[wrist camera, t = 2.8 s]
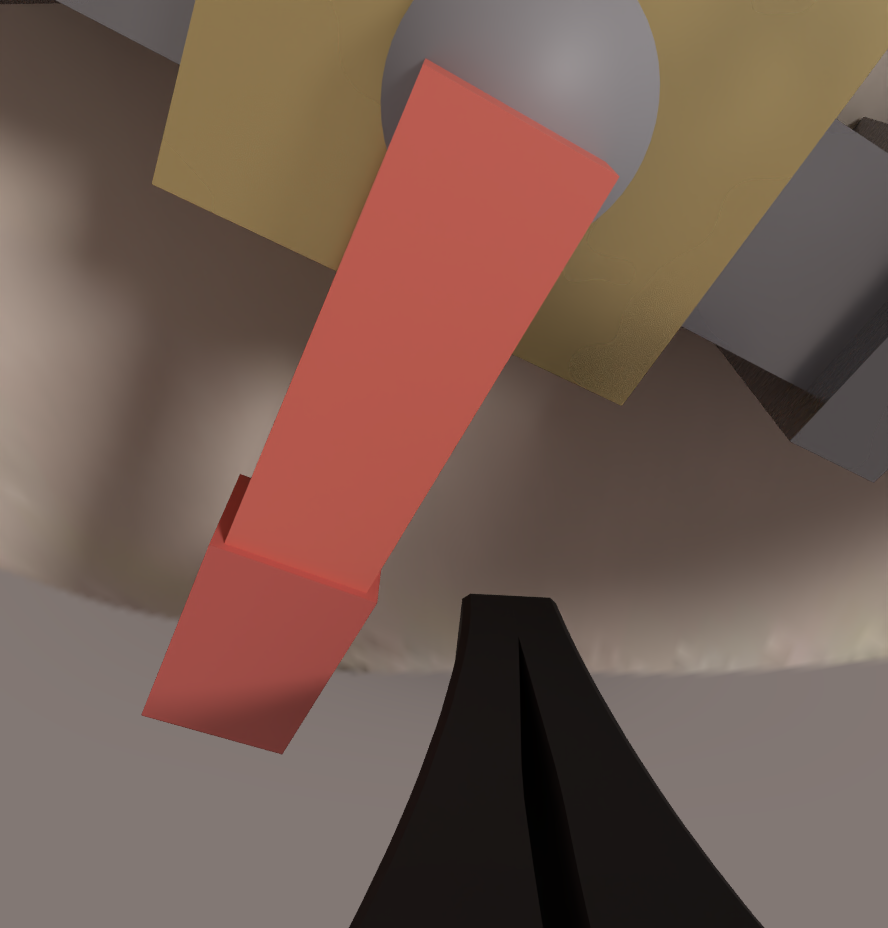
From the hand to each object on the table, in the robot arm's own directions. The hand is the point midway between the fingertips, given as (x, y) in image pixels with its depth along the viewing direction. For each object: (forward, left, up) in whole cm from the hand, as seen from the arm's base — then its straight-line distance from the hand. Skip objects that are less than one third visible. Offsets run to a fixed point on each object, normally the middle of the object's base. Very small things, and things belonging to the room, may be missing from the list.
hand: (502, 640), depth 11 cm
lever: (+4, -3, 0) cm, 4 cm away
